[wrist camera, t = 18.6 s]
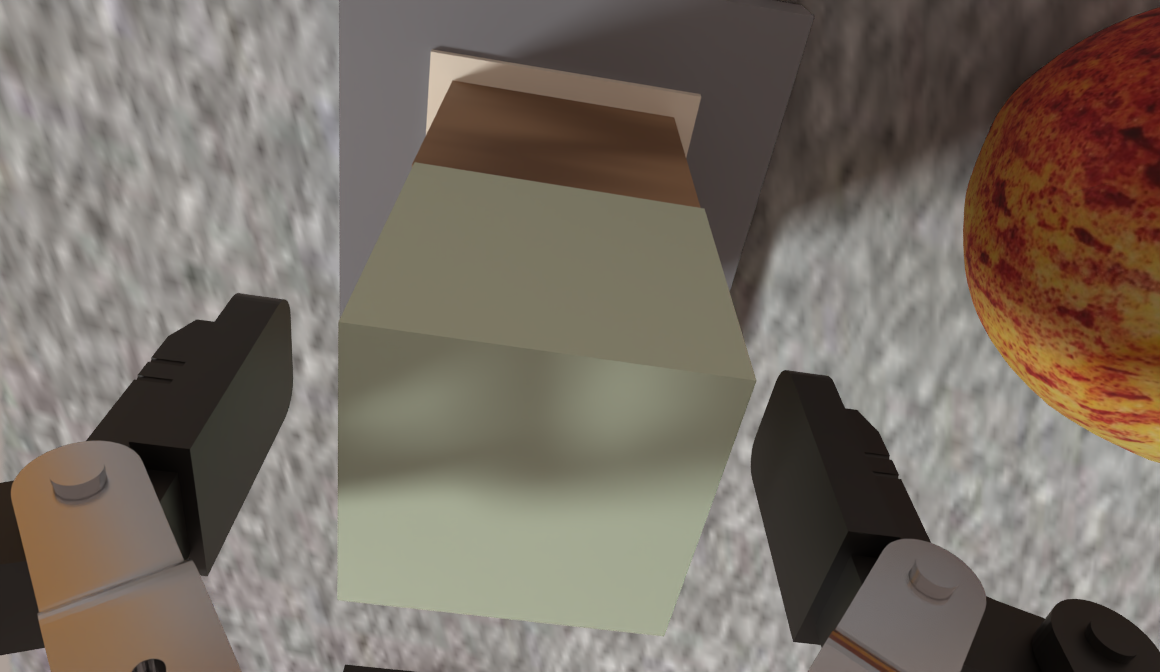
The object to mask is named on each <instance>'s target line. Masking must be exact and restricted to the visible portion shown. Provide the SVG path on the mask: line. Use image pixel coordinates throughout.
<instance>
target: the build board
mask: <svg viewBox="0 0 1160 672" xmlns="http://www.w3.org/2000/svg"><path fill="white" fill-rule="evenodd" d="M813 20H814V16H813V15H812V14H811V13H810V12H809V11H808V10H807V9H805V8H804V7H803V6H802V5H798V4H793V3H787V2H781V1H776V0H339V137H340V318H341V316H342V313H343V311H344V309H345V307H346V305H347V303H348V301H349V299H350V297H351V295H352V293H353V290H354V288H355V286H356V284H357V282H358V280H359V278H360V276H361V274H362V272H363V269H364V267H365V265H366V263H367V261H368V259H369V257H370V255H371V253H372V251H373V249H374V246H375V244H376V242H377V240H378V238H379V236H380V234H381V232H382V230H383V228H384V225H385V223H386V221H387V219H388V217H389V215H390V213H391V211H392V209H393V207H394V205H395V202H396V200H397V198H398V196H399V194H400V192H401V190H402V188H403V186H404V184H405V181H406V179H407V177H408V175H409V173H410V171H411V169H412V163H413V161H414V159H415V157H416V155H417V153H418V151H419V149H420V147H421V145H422V143H423V141H424V138H425V136H426V134H427V132H428V130H429V128H430V126H431V124H432V122H433V120H434V118H435V116H436V114H437V111H438V109H439V107H440V105H441V103H442V101H443V99H444V97H445V95H446V93H447V91H448V89H449V87H450V84H451V82H452V80H453V81H459V82H465V83H471V84H477V85H483V86H489V87H495V88H501V89H507V90H513V91H519V92H525V93H531V94H537V95H543V96H549V97H555V98H561V99H567V100H573V101H579V102H585V103H591V104H597V105H603V106H609V107H615V108H621V109H627V110H633V111H639V112H645V113H651V114H657V115H663V116H669V117H674V118H675V122H676V125H677V129H678V132H679V136H680V139H681V142H682V146H683V149H684V153H685V156H686V159H687V163H688V166H689V170H690V173H691V177H692V180H693V183H694V187H695V190H696V194H697V197H698V201H699V204H700V207H701V208H704V209H705V212H706V215H707V219H708V222H709V225H710V229H711V232H712V235H713V239H714V242H715V245H716V249H717V252H718V255H719V259H720V262H721V265H722V269H723V272H724V275H725V278H726V282H727V285H728V288H729V292H730V289H731V286H732V283H733V279H734V276H735V273H736V270H737V266H738V263H739V260H740V257H741V254H742V250H743V247H744V244H745V241H746V237H747V234H748V231H749V228H750V224H751V221H752V218H753V215H754V211H755V208H756V205H757V202H758V198H759V195H760V192H761V189H762V185H763V182H764V179H765V176H766V172H767V169H768V166H769V163H770V159H771V156H772V153H773V150H774V146H775V143H776V140H777V137H778V133H779V130H780V127H781V124H782V120H783V117H784V114H785V111H786V107H787V104H788V101H789V98H790V94H791V91H792V88H793V85H794V81H795V78H796V75H797V72H798V68H799V65H800V62H801V59H802V56H803V52H804V49H805V46H806V43H807V39H808V36H809V33H810V30H811V26H812V23H813Z"/></svg>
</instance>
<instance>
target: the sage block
mask: <svg viewBox="0 0 1160 672" xmlns="http://www.w3.org/2000/svg"><path fill="white" fill-rule="evenodd" d="M755 383H756V378H755V375H754V371H753V368H752V365H751V361H750V358H749V355H748V351H747V348H746V345H745V342H744V338H743V335H742V332H741V328H740V325H739V322H738V318H737V315H736V312H735V308H734V305H733V302H732V298H731V295H730V292H729V288H728V285H727V282H726V278H725V275H724V272H723V269H722V265H721V262H720V259H719V255H718V252H717V249H716V245H715V242H714V239H713V235H712V232H711V229H710V225H709V222H708V219H707V215H706V212H705V209H704V208H698V207H691V206H685V205H679V204H673V203H666V202H660V201H654V200H648V199H641V198H635V197H629V196H623V195H616V194H610V193H604V192H598V191H591V190H585V189H579V188H573V187H566V186H560V185H554V184H548V183H541V182H535V181H529V180H523V179H516V178H510V177H504V176H498V175H491V174H485V173H479V172H473V171H466V170H460V169H454V168H448V167H441V166H435V165H429V164H423V163H416V162H415V163H414V165H413V167H412V169H411V171H410V173H409V175H408V177H407V179H406V181H405V184H404V186H403V188H402V190H401V192H400V194H399V196H398V198H397V200H396V202H395V205H394V207H393V209H392V211H391V213H390V215H389V217H388V219H387V221H386V223H385V225H384V228H383V230H382V232H381V234H380V236H379V238H378V240H377V242H376V244H375V246H374V249H373V251H372V253H371V255H370V257H369V259H368V261H367V263H366V265H365V267H364V269H363V272H362V274H361V276H360V278H359V280H358V282H357V284H356V286H355V288H354V290H353V293H352V295H351V297H350V299H349V301H348V303H347V305H346V307H345V309H344V311H343V313H342V316H341V318H340V320H339V332H338V585H337V600H340V601H349V602H359V603H368V604H377V605H386V606H395V607H404V608H413V609H422V610H431V611H440V612H449V613H458V614H467V615H476V616H485V617H494V618H503V619H512V620H521V621H530V622H539V623H548V624H557V625H566V626H575V627H584V628H593V629H602V630H611V631H620V632H629V633H638V634H647V635H656V636H664V635H665V632H666V629H667V627H668V624H669V621H670V618H671V616H672V613H673V610H674V607H675V605H676V602H677V599H678V596H679V593H680V591H681V588H682V585H683V582H684V580H685V577H686V574H687V571H688V569H689V566H690V563H691V560H692V557H693V555H694V552H695V549H696V546H697V544H698V541H699V538H700V535H701V533H702V530H703V527H704V524H705V521H706V519H707V516H708V513H709V510H710V508H711V505H712V502H713V499H714V497H715V494H716V491H717V488H718V486H719V483H720V480H721V477H722V474H723V472H724V469H725V466H726V463H727V461H728V458H729V455H730V452H731V450H732V447H733V444H734V441H735V438H736V436H737V433H738V430H739V427H740V425H741V422H742V419H743V416H744V414H745V411H746V408H747V405H748V402H749V400H750V397H751V394H752V391H753V389H754V386H755Z"/></svg>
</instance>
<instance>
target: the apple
mask: <svg viewBox="0 0 1160 672" xmlns="http://www.w3.org/2000/svg"><path fill="white" fill-rule="evenodd" d="M963 246H964V262H965V271H966V277H967V283H968V286H969V290H970V294H971V297H972V301H973V304H974V306H975V309H976V312H977V314H978V316H979V318H980V321H981V323H982V325H983V326H984V328H985V330H986V332H987V334H988V335H989V337H990V339H991V341H992V342H993V344H994V345H995V347H996V348H997V349H998V351H999V352H1000V354H1001V355H1002V357H1003V358H1004V359H1005V361H1006V362H1007V363H1008V365H1009V366H1010V367H1011V368H1012V369H1013V370H1014V372H1015V373H1016V374H1017V375H1018V376H1019V377H1020V378H1021V379H1022V380H1023V381H1024V382H1025V383H1026V384H1027V385H1028V387H1029V388H1030V389H1031V390H1033V391H1034V392H1035V393H1036V394H1037V395H1038V396H1039V397H1041V398H1042V399H1043V400H1044V401H1045V402H1046V403H1047V404H1048V405H1049V406H1051V407H1052V408H1054V409H1055V410H1056V411H1058V412H1059V413H1061V414H1062V415H1064V416H1065V417H1067V418H1068V419H1070V420H1072V421H1073V422H1075V423H1077V424H1078V425H1080V426H1082V427H1083V428H1085V429H1087V430H1088V431H1090V432H1092V433H1093V434H1095V435H1097V436H1099V437H1101V438H1103V439H1105V440H1107V441H1109V442H1111V443H1113V444H1116V445H1118V446H1120V447H1122V448H1124V449H1126V450H1128V451H1130V452H1132V453H1135V454H1137V455H1139V456H1142V457H1144V458H1146V459H1148V460H1151V461H1155V462H1158V463H1160V7H1159V8H1156V9H1152V10H1150V11H1147V12H1144V13H1141V14H1138V15H1136V16H1133V17H1130V18H1128V19H1126V20H1124V21H1121V22H1119V23H1116V24H1114V25H1112V26H1109V27H1107V28H1105V29H1103V30H1101V31H1099V32H1097V33H1095V34H1093V35H1092V36H1090V37H1088V38H1086V39H1084V40H1083V41H1081V42H1079V43H1078V44H1076V45H1074V46H1073V47H1071V48H1069V49H1068V50H1066V51H1065V52H1063V53H1062V54H1060V55H1058V56H1057V57H1056V58H1054V59H1053V60H1052V61H1050V62H1049V63H1048V64H1046V65H1045V66H1044V67H1042V68H1041V69H1040V70H1038V71H1037V72H1036V73H1035V74H1033V75H1032V76H1031V77H1030V78H1029V79H1027V80H1026V81H1025V82H1024V83H1023V84H1022V85H1021V86H1020V87H1019V88H1018V89H1017V90H1016V91H1015V92H1014V93H1013V94H1012V95H1011V96H1010V98H1009V99H1008V100H1007V102H1006V103H1005V104H1004V106H1003V107H1002V109H1001V110H1000V111H999V113H998V114H997V116H996V118H995V120H994V122H993V124H992V126H991V128H990V130H989V133H988V135H987V137H986V139H985V142H984V144H983V147H982V149H981V151H980V154H979V156H978V159H977V161H976V164H975V167H974V169H973V172H972V175H971V178H970V181H969V184H968V188H967V192H966V198H965V207H964V225H963Z"/></svg>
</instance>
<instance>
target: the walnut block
mask: <svg viewBox="0 0 1160 672" xmlns="http://www.w3.org/2000/svg"><path fill="white" fill-rule="evenodd" d="M415 162H416V163H423V164H429V165H435V166H441V167H448V168H454V169H460V170H466V171H473V172H479V173H485V174H491V175H498V176H504V177H510V178H516V179H523V180H529V181H535V182H541V183H548V184H554V185H560V186H566V187H573V188H579V189H585V190H591V191H598V192H604V193H610V194H616V195H623V196H629V197H635V198H641V199H648V200H654V201H660V202H666V203H673V204H679V205H685V206H691V207H698V208H701V207H700V204H699V201H698V197H697V194H696V190H695V187H694V183H693V180H692V177H691V173H690V170H689V166H688V163H687V159H686V156H685V153H684V149H683V146H682V142H681V139H680V136H679V132H678V129H677V125H676V122H675V118H674V117H669V116H663V115H657V114H651V113H645V112H639V111H633V110H627V109H621V108H615V107H609V106H603V105H597V104H591V103H585V102H579V101H573V100H567V99H561V98H555V97H549V96H543V95H537V94H531V93H525V92H519V91H513V90H507V89H501V88H495V87H489V86H483V85H477V84H471V83H465V82H459V81H453V80H452V82H451V84H450V87H449V89H448V91H447V93H446V95H445V97H444V99H443V101H442V103H441V105H440V107H439V109H438V111H437V114H436V116H435V118H434V120H433V122H432V124H431V126H430V128H429V130H428V132H427V134H426V136H425V138H424V141H423V143H422V145H421V147H420V149H419V151H418V153H417V155H416V157H415V159H414V161H413V163H412V167H413V165H414V163H415Z"/></svg>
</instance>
